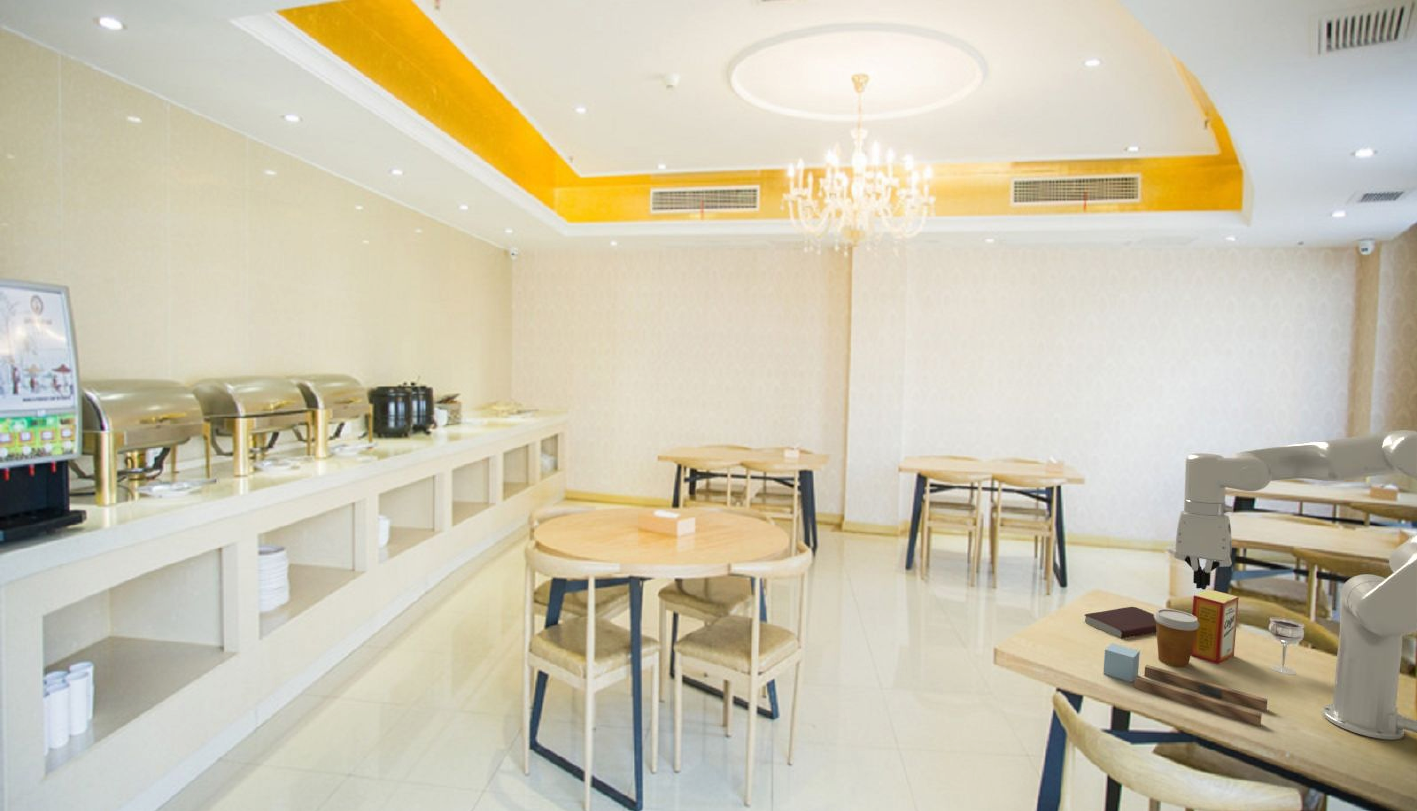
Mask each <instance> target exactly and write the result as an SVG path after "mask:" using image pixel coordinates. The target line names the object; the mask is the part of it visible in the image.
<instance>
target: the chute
mask: <svg viewBox="0 0 1417 811" xmlns="http://www.w3.org/2000/svg"><path fill="white" fill-rule="evenodd" d="M1143 676H1144V677H1141V676H1139V675H1138V676H1136V678H1135V679H1134V686H1133V687H1134V688H1135V689H1138V690H1140V691H1145V692H1147V693H1151V694H1153V695H1158V696H1160V697H1164V698H1167V699H1171V700H1172V701H1173V700H1174V701H1177V702H1180V703H1183V704H1186V705H1190V706H1192V707H1195V708H1199V709H1203V710H1206V711H1209V712H1211V713H1214V714H1215V713H1216V714H1218V715H1222V716H1225V717H1229V718H1232V719H1235V720H1238V721H1242V722H1244V723H1248V724H1250V725H1253V726H1254V725H1255V726H1257V727H1260V726H1261V724H1262V715H1263V714H1262V713H1261V712H1258V711H1254V710H1252V709H1256V710H1260V711H1263V712H1266V711H1267V709H1268V701H1269V700H1268V698H1265V697H1261V696H1257V695H1254V694H1251V693H1247V692H1244V691H1240V690H1238V689H1234V688H1229V687H1226V686H1222V685H1219V684H1215V683H1212V682H1209V681H1204V680H1202V679H1198V678H1195V677H1191V676H1188V675H1186V674H1185V675H1184V674H1181V673H1177V672H1174V671H1170V670H1167V669H1163V668H1160V667H1156V666H1153V665H1149V664H1146V665H1145V666H1144V673H1143ZM1145 677H1148V678H1152V679H1155V681H1154V680H1151V679H1147V678H1145ZM1156 680H1158V681H1161V682H1165V683H1169V684H1171V685H1175V686H1179V687H1182V688H1184V689H1187V690H1184V689H1181V688H1177V687H1175V686H1170V685H1168V684H1164V683H1161V682H1158V681H1156ZM1188 690H1191V691H1195V692H1198V693H1200V694H1198V693H1195V692H1191V691H1188ZM1204 695H1206V696H1204ZM1208 696H1209V697H1208ZM1211 697H1213V698H1211ZM1214 698H1215V699H1214ZM1218 699H1222V700H1226V701H1229V702H1233V703H1236V704H1239V705H1243V706H1246V707H1249V708H1252V709H1248V708H1245V707H1242V706H1237V705H1234V704H1231V703H1228V702H1225V701H1221V700H1218Z"/></svg>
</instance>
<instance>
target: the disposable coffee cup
mask: <svg viewBox="0 0 1417 811" xmlns="http://www.w3.org/2000/svg"><path fill="white" fill-rule="evenodd" d="M1154 618H1155V621H1156V631H1157V633H1156V641H1157V656H1158V660H1159V661H1160V662H1162V663H1163V664H1166V665H1168V666H1172V667H1177V668H1185V667H1188V666H1189V664H1190V660H1191V657H1192V656H1191V652H1192V648H1193V643H1194V639H1195V635H1196V631H1197V629H1198V627H1199V625H1200V624H1199V623H1198V619H1197V618H1196V617H1195V616H1193V615H1192V614H1191V613H1189V612H1185V611H1181V610H1177V609H1170V608H1160V609H1157V610H1156V612H1155V613H1154Z"/></svg>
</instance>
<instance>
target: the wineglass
mask: <svg viewBox="0 0 1417 811" xmlns="http://www.w3.org/2000/svg"><path fill="white" fill-rule="evenodd" d="M1269 621H1270V623H1269V625H1268V631H1269V634H1270V635H1271V637H1273V638H1274V639H1275V640H1276V641H1278V642H1279V643H1280V644H1281V645H1282V657H1281V658H1282V659H1281V665H1277V664H1276V665H1275V664H1272V665H1270V666H1269V668H1270V669H1271V670H1273V671H1275V672H1278V673H1280V674H1283V675H1284V674H1285V675H1296V674H1297V673H1296V671H1295V670H1294V669H1291V668H1289V667H1287V666H1285V663H1286V655H1287V650H1288V649H1287V648H1288V646H1289V645H1292V644H1293V645H1294V644H1297V643H1299V642H1301V641H1302V640H1303V639H1304V636H1305V632H1304V628H1305V624H1304V623H1302V622H1299V621H1297V620H1294V619H1290V618H1285V617H1279V616H1277V617H1270V618H1269Z"/></svg>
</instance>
